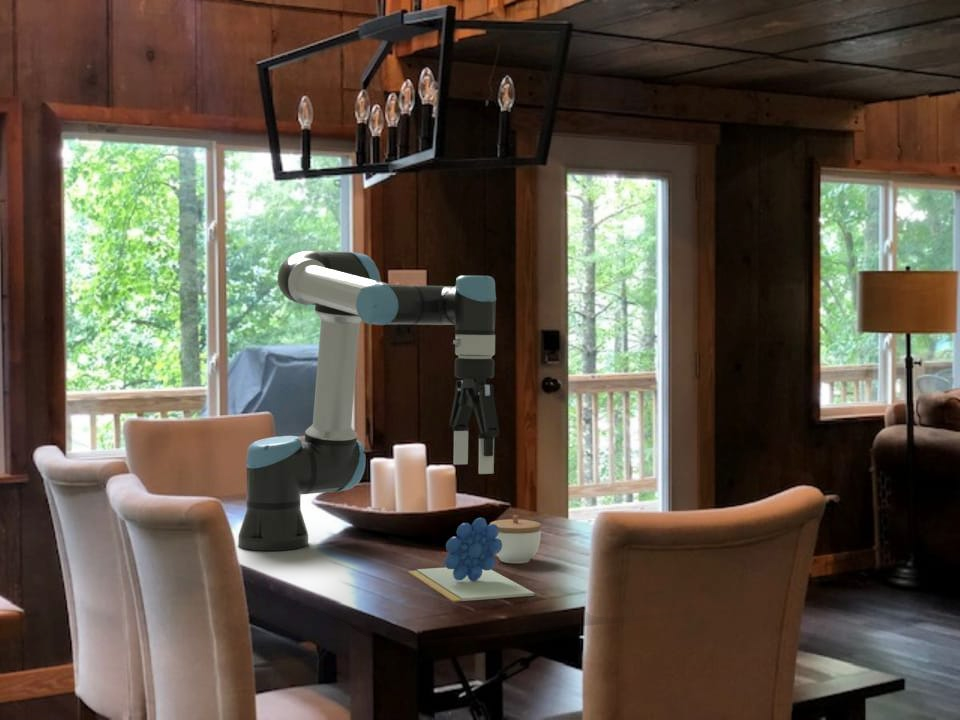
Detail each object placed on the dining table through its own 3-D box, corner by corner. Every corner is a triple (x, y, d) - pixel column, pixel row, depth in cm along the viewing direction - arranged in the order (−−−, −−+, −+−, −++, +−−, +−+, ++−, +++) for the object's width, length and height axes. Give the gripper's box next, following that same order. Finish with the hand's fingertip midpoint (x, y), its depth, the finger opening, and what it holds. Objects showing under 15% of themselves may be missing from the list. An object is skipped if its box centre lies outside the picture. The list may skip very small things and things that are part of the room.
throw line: (408, 572, 247) (408, 571, 247) (415, 572, 247) (415, 570, 247) (453, 601, 222) (453, 600, 222) (460, 601, 223) (461, 599, 223)
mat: (416, 571, 247) (416, 569, 247) (482, 567, 252) (482, 565, 252) (462, 601, 223) (462, 598, 223) (534, 595, 228) (534, 592, 228)
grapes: (492, 574, 244) (493, 513, 243) (506, 581, 237) (507, 518, 237) (436, 578, 239) (437, 516, 239) (448, 585, 233) (449, 521, 233)
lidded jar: (541, 566, 254) (542, 520, 254) (489, 565, 255) (489, 519, 254) (540, 555, 265) (540, 512, 265) (489, 555, 265) (490, 511, 265)
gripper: (434, 354, 247) (432, 461, 248) (479, 360, 223) (478, 478, 224) (469, 354, 249) (468, 460, 250) (518, 360, 226) (516, 476, 227)
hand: (472, 468), depth 237 cm, fingers open, 13 cm apart
